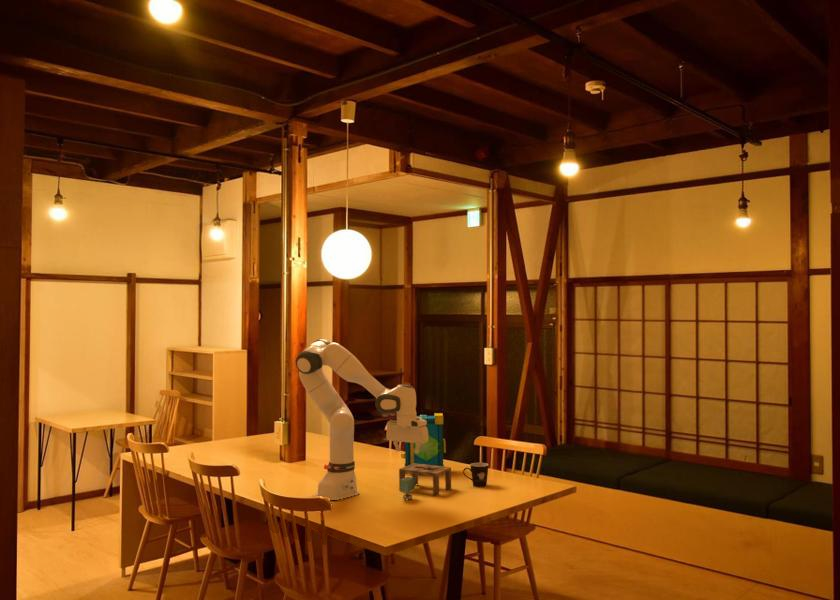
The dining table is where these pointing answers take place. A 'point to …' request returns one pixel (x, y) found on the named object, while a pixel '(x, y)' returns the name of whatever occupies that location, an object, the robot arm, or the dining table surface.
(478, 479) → the coffee mug
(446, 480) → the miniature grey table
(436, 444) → the decorative book
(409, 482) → the peg
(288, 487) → the dining table surface
